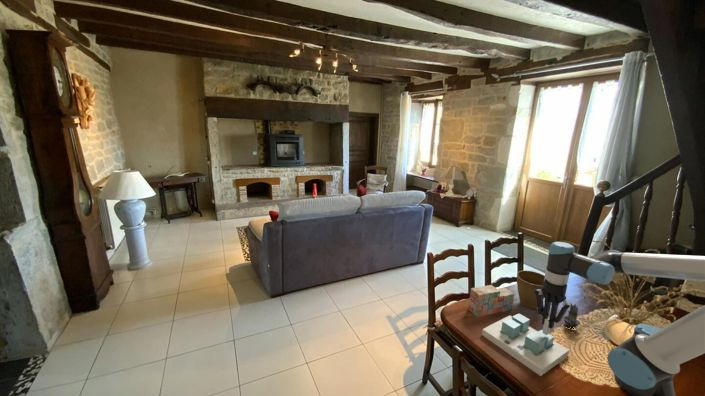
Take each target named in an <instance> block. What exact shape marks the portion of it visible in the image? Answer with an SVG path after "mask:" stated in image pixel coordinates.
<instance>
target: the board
mask: <svg viewBox="0 0 705 396" xmlns="http://www.w3.org/2000/svg"><path fill="white" fill-rule="evenodd" d="M512 317H513V316H512V315H508V316H505V317H503V318H502V319H500V320H498V321H496V322H494V323H491V324H489V325H488V326H486V327H484V328H482V331H481V332H482V333H481V336H483V337H484V338H486V339H487V340H488V341H490V342H492V343H493V344H494V345H496V346H497V347H499V348H500V349H501V350H502V351H504V352H506V353H507V354H508V355H510V356H511V357H513V358H514V359H516V360H517V361H518V362H520V363H521V364H523V365H524V366H525V367H527V368H528V369H529V370H531V371H533V372H534V373H535V374H537V375H538V376H540V377H542V376H544V375H545V374H546V373H548V372H549V371H550V370H551V369H553V368H554V367H556V365H558V364H559V363H561V362H562V361H563V360H565V359H566V358H567V357H569V354H570V349H569V348H567V347H566V346H565V347H564V345H562V344H561V343H558V342H556V341H555V340H553V345H552V347H550V348H549V349H547V350H546V349H545V348H544V350H543V351H541V352H540V353H538V354H537V355H536V354H535V353H533V352H532V351H530V350H528V349H527V348H525V347H524V343H525V338H526V336H527V335H528V334H530V333H532V332H534V333H537V332H538V331H539V330H538V331H537V330H536V329H534V328H533V327H532V326H529V328H528V330H526V331H525V332H523V333H521V332H519V335H518V336H516V337H514V338H510V337H509V336H507V335H505V334H504V333H502V332H501V328H502V322H503V321H505V320H507V319H509V318H510V319H512Z"/></svg>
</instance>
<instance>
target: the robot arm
mask: <svg viewBox="0 0 705 396" xmlns="http://www.w3.org/2000/svg"><path fill="white" fill-rule="evenodd" d="M575 251H576V250H575V246H574V245H573V244H570V243H568V242H563V241H554V242H552V243H551V244H550V246H549V251H548V253H547V254H548V257H547V262H546V268H545V273H544V276H545V279H544V283H543V288H542V289H541V290H540V289H537V290H535V294H536V297H537V313H538V315H540V316H541V317H542V319H541V324H542V325H543V328H542V330H543V332H542V333H543V334H545V335H547V334H551V329H553V328H554V326H555V324H558V323H560V322H561V321H562V319H564V317H565V314H566V313H567V312H568V309H570V307H571V306H572V305H573V304H572V303H571V302H569V301H568V300H567V296H566V293H567V290H568V289H567V288H568V283H569V278H570V274H571V273H572V274H574V275H576V276H579V277H582V278H583V279H587V280H589V281H591V282H593V283H597V284H600V285H602V286H604V285H609V284H610V283H611V281H613V279H614V277H615V274H625V275H638V276H646V277H656V278H665V279H673V280H674V279H675V280H684V281H685V280H687V281H696V282H705V255H691V254H690V255H687V254H665V253H645V252H644V253H642V252H640V253H639V252H621V251H619V250H616V249H609V250H608V249H607V250H604V251H600V252H599V253H596V254H594V255H591V256H586V255H583V254H580V253H578V252H575ZM542 294H543V295H544V299H543V295H542ZM561 303H562V307H561V308H560V310H559V312H558V309H559V305H560V304H561ZM557 313H558V314H557ZM633 330H634V331H633V334H632V336H631V337H629V338H628V339H626V340H624V341H623V342H621V343H620V344H618V345H617V346H616V347H613V348H611V349H610V351H609V352H608V354H607V359H606V360H607V364H608V367H609V368H610V370H611V371H612V373H613V374H614V375H613V376H614V379H615V381H616V382H617V384H618V385H619V386H620V387H621V389H623V390H624V391H625V392H627V393H628V394H629V395H631V396H676V392H675V388H674V382H673V381H674V377H675V375H676V374H678V373H680V371H681V367H680V366H681V364H684V363H686V362H688V361H691V360H692V359H693V360H694V359H695V358H697V357H700V356H702V355H704V354H705V304H704V305H702V306H700V307H698V308H697V309H695V310H693V311H692V312H690V313H687V314H686V315H684V316H682V317H680V318H679V319H677V320H674V321H673V322H671V323H670V324H668V325H667V326H664V327H662V328H660V327H658V326H654V325H650V324H645V323H639V324H637V325H635V327H634V328H633Z"/></svg>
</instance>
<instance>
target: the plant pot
mask: <svg viewBox="0 0 705 396" xmlns="http://www.w3.org/2000/svg"><path fill="white" fill-rule="evenodd" d="M544 279H545V274H542V273H541V272H536V271H533V270H519V271H518V272H517V273H516V285H517V293H518V298H519V302H520V304H521V306H522V307H524V308H526V309H528V310H536V309H538V307H537V297H536V294H535V290H537V289H540V290H541V289H542V288H543V283H544ZM542 295H543V294H542ZM543 300H545V298H544V295H543Z"/></svg>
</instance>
